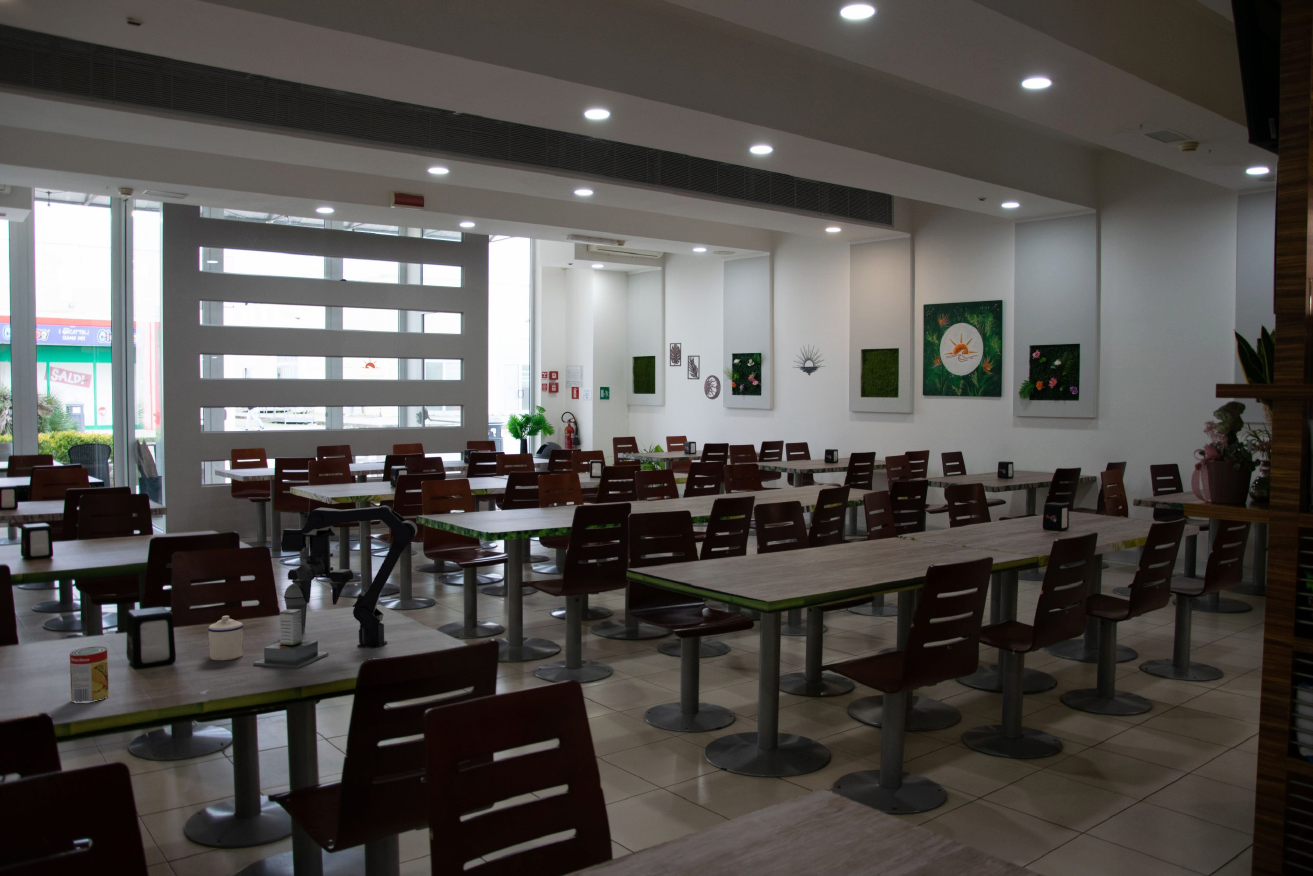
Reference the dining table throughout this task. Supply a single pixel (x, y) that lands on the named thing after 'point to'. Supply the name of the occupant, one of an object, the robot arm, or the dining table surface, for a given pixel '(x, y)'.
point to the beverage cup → (296, 602)
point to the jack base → (291, 655)
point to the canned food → (89, 674)
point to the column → (290, 627)
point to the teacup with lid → (226, 639)
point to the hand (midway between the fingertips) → (321, 603)
